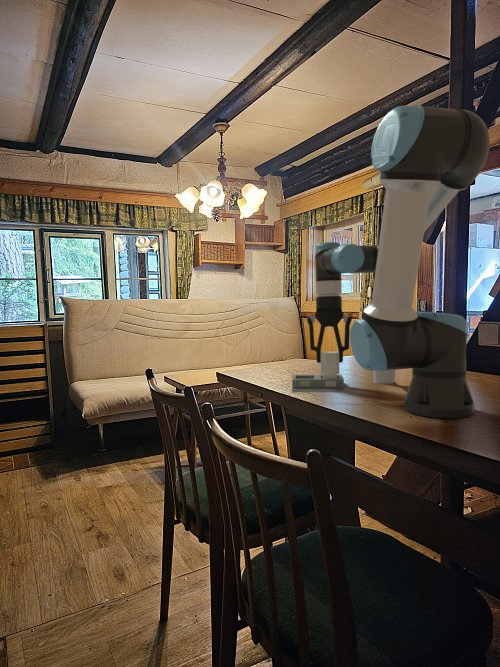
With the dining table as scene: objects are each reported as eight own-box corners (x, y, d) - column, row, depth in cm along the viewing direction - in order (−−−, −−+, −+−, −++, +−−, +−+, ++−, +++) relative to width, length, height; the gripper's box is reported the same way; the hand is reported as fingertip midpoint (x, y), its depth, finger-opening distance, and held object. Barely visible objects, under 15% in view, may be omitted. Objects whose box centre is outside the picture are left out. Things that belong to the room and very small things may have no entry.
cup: (394, 382, 138) (394, 344, 137) (400, 387, 130) (400, 347, 129) (368, 382, 139) (368, 345, 138) (373, 387, 131) (372, 348, 130)
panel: (345, 395, 121) (345, 383, 121) (291, 395, 123) (291, 383, 123) (339, 382, 141) (339, 371, 141) (293, 382, 143) (293, 371, 143)
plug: (337, 386, 129) (336, 353, 128) (323, 386, 129) (323, 353, 128) (336, 383, 133) (335, 351, 133) (323, 383, 134) (322, 351, 133)
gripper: (356, 294, 132) (357, 371, 134) (300, 296, 134) (301, 371, 136) (359, 294, 125) (360, 375, 126) (299, 296, 127) (301, 375, 129)
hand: (329, 373), depth 131 cm, fingers closed on plug, 4 cm apart
